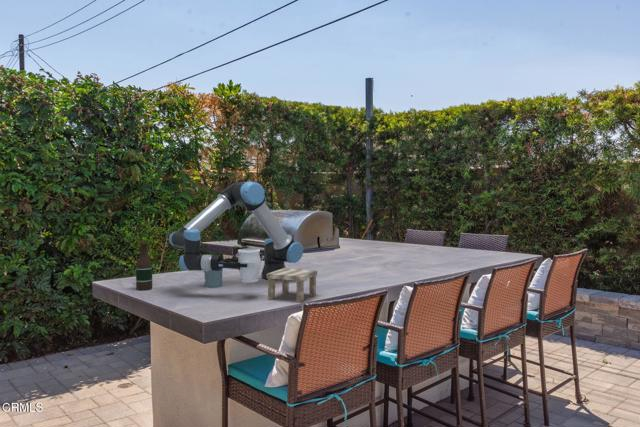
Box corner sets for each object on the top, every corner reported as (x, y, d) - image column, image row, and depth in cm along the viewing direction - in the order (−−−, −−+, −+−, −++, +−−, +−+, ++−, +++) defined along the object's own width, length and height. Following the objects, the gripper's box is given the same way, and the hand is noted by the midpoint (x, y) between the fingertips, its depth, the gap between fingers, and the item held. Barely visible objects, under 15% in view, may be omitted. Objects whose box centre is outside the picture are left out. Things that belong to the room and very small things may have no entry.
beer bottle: (155, 288, 251) (155, 241, 250) (145, 291, 243) (144, 243, 242) (143, 287, 253) (142, 241, 252) (132, 290, 246) (132, 242, 245)
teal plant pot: (226, 285, 259) (226, 262, 258) (215, 288, 250) (215, 265, 249) (211, 283, 263) (211, 261, 262) (199, 287, 254) (199, 264, 253)
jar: (239, 279, 234) (238, 248, 233) (261, 278, 234) (260, 247, 234) (237, 283, 223) (237, 251, 222) (260, 283, 224) (259, 250, 223)
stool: (266, 299, 225) (266, 273, 224) (283, 292, 242) (283, 268, 241) (302, 303, 218) (302, 276, 218) (317, 295, 235) (317, 270, 234)
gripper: (220, 266, 242) (263, 267, 239) (203, 275, 219) (251, 275, 216) (220, 251, 241) (263, 252, 239) (203, 258, 219) (251, 259, 216)
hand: (257, 263), depth 228 cm, fingers closed on jar, 10 cm apart
